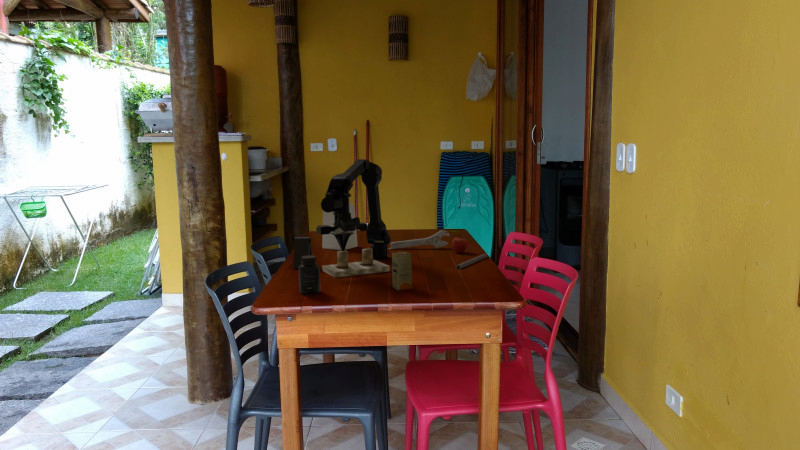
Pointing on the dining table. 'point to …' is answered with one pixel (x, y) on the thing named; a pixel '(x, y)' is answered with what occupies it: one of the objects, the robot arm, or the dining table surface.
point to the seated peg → (367, 257)
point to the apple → (459, 244)
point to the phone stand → (301, 250)
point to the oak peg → (342, 259)
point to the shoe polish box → (402, 270)
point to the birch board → (355, 269)
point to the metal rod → (471, 261)
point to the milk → (331, 241)
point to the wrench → (422, 241)
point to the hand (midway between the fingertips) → (342, 250)
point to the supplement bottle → (309, 276)
